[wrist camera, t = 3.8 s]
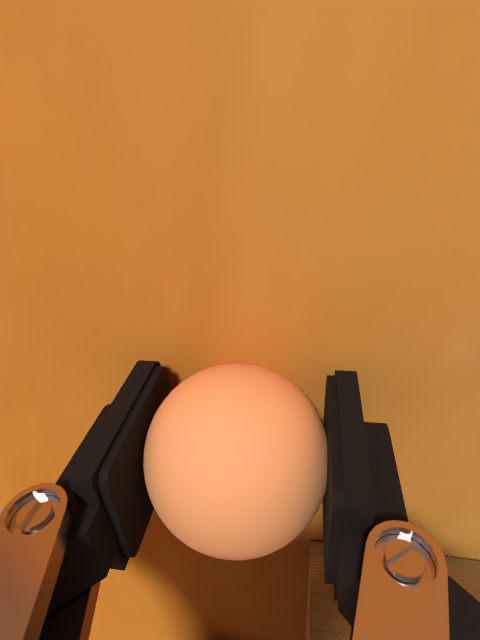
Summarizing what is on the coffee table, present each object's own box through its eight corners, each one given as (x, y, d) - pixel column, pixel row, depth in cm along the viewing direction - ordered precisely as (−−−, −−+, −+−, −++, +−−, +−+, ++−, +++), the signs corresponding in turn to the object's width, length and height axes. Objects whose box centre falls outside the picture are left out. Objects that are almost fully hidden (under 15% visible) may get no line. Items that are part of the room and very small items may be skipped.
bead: (332, 332, 10) (342, 480, 7) (323, 452, 13) (327, 615, 9) (164, 326, 11) (86, 456, 7) (185, 441, 13) (134, 586, 10)
